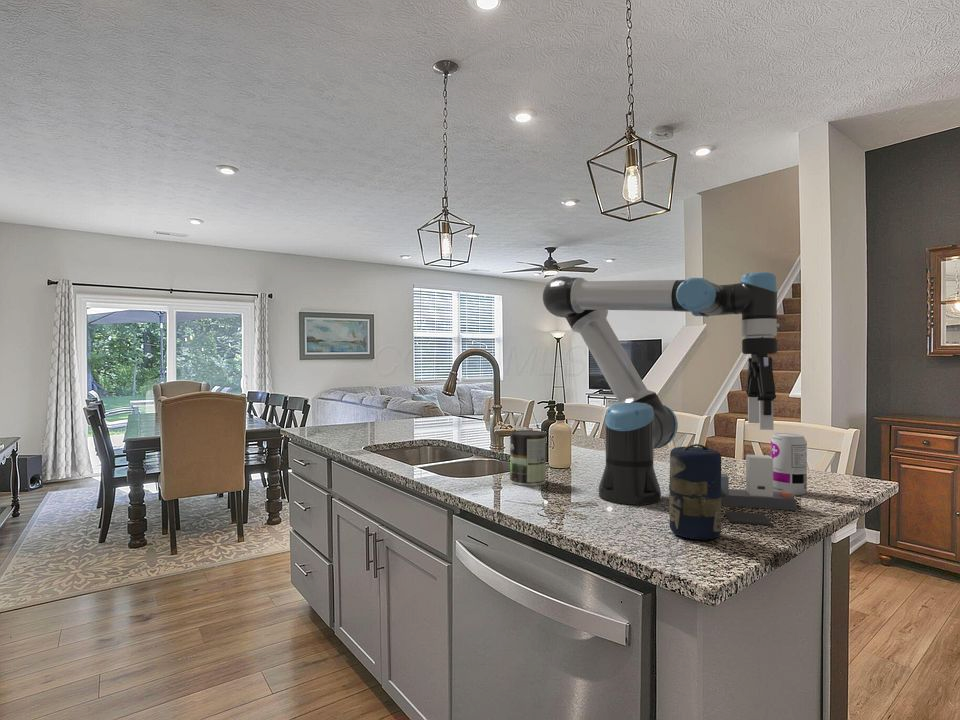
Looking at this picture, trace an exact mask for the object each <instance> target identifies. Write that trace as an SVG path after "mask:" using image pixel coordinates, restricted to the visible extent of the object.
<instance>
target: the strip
mask: <svg viewBox="0 0 960 720" xmlns="http://www.w3.org/2000/svg"><path fill="white" fill-rule="evenodd" d="M729 483H730V477H729V475H728V474H727V473H721V506H727V507H738V506H742V508H753V509H766V510H767V509H768V510H769V509H770V510H782V511H783V510H784V511H795V510H796V511H797V499H796V498H795V497H794V495H791V494H790V493H789V492H786V491H780V492H775V491H773V497H765V496H750V495H749V494H748V493H747V492H746V489H736V488H735V489H734V488H730V486H729V485H730V484H729Z"/></svg>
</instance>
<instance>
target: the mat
mask: <svg viewBox="0 0 960 720" xmlns="http://www.w3.org/2000/svg"><path fill="white" fill-rule="evenodd" d="M724 514H725V516H726V518H727V519H728V521H729V523H731V524H742V525H743V524H744V525H754V526H755V525H756V526H757V525H758V526H766V527H767V526H769V527H772V526H773V523H772V522H771V521H770V519H769V518H768V517H767V515H765V514H764V513H759V512H748V511H747V512H744V511H735V510H734V511H733V510H724Z"/></svg>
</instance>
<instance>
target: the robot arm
mask: <svg viewBox="0 0 960 720" xmlns="http://www.w3.org/2000/svg"><path fill="white" fill-rule="evenodd" d="M777 289H778V288H777V276H776V275H775V274H774V273H772V272H769V271H759V272H757V271H756V272H751V273H745V274H743V275H741V280H740V282H738V283H732V284H716V283H714V282H711V281H709V280H708V279H704V278H703V277H690V278H687V279H653V280H652V279H651V280H649V279H648V280H647V279H646V280H641V279H640V280H637V279H636V280H590V281H588V280H585V278H583V277H570V276H565V275H564V276H557V277H555V278H552V279H551V280H550V281H549V282H547V284H546V285H545V287H544V289H543V292H542V302H543V305H544V308H545V309H546V310H547V311H548V312H549V313H550V314H551V315H553V316H556V317H559V318H565V320H566V322H567V323H568V325H569V326H570V328H571V330H572V331H573V332H575V333H578V334H580V335H581V338H582V339H583V341H584V343H585V345H586V347H587V348H588V350H589V352H590V354H591V355H592V357H593V359H594V361H595V362H596V364H597V366H598V368H599V370H600V372H601V374H602V375H603V377H604V379H605V381H606V382H607V384H608V386H609V388H610V390H611V391H612V393H613V395H614V397H615V399H616V400H617V402H618V403H615V404H612V405H610V406H609V407H607V409H606V412H605V419H604V424H605V467H604V469H603V473H602V476H601V479H600V482H599V485H598V496H599V498H601V499H602V500H606V501H609V502H613V503H617V504H625V505H648V504H649V505H650V504H655V503H659V502H660V501H661V500H662V492H661V491H662V490H661V487H660V483H659V481H658V477H657V475H656V472H655V468H654V467H655V465H654V459H655V457H654V450H655V449H661V448H663V447H665V446H667V445H668V444H670V442H672V441H673V440H674V438H675V437H676V435H677V432H678V428H679V423H678V418H677V416H676V414H675V412H674V411H673V410H672V409H671V408H669V406H667V405H664V404H663V402H662V401H661V399H660V398H659V396H658V394H657V393H656V391H652V390H650V389H648V388H647V387H646V385H645V383H644V381H643V380H642V378H641V376H640V375H639V373H638V371H637V370H636V368H635V366H634V363H632V362H633V361H631V359H630V357H629V356H628V353H627V351H626V350H625V348H624V346H623V345H622V344H621V342H620V340H619V339H618V337H617V335H616V333H615V332H614V330H613V328H612V326H611V324H610V323H609V321H608V320H607V317H608V313H609V311H637V312H638V311H641V312H642V311H643V312H644V311H649V312H652V311H653V312H687V313H688V312H689V313H691V315H692V316H694V317H706V318H708V317H712V316H713V317H714V316H727V315H741V336H742V337H743V339H742V340H741V353H742V354H743V355H751V357H749V358H748V359H747V360H748V361H747V362H748V363H747V364H748V368H747V379H746V389H745V394H746V395H747V420H748V421H747V423H748V424H759V430H763V431H764V430H768V431H769V430H770V431H773V430H775V429H774V400H775V399H776V398H777V394H776V388H775V379H774V373H773V372H774V370H773V357H770V356H768V355H776V354H777V353H778V339H777V338H775V337H776V336H777V335H778V328H780V323H778V290H777Z"/></svg>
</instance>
